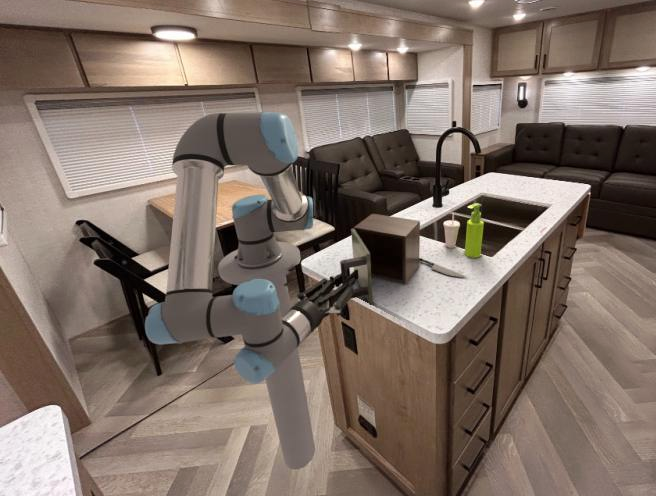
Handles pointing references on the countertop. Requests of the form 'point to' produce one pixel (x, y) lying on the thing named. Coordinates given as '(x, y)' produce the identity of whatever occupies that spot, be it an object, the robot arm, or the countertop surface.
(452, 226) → the smoothie
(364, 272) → the cupboard door
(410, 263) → the cupboard
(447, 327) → the countertop surface
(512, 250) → the countertop surface
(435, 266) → the chef's knife
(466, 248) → the soap dispenser
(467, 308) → the countertop surface
